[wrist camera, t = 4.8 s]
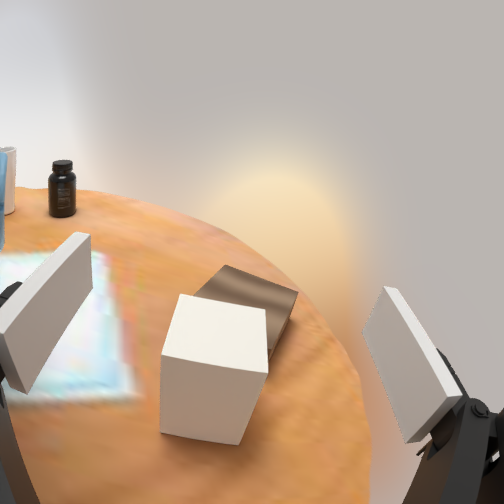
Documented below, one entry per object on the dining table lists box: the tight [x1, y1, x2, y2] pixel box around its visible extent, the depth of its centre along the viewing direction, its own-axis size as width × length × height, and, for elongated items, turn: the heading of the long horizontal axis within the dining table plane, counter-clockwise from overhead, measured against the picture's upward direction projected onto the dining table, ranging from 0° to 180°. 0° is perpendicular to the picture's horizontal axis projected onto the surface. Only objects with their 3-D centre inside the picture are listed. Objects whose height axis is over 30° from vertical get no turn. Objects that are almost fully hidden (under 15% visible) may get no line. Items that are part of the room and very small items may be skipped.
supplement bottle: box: [48, 160, 76, 217], centre depth 61 cm, size 7×7×12 cm
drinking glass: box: [0, 147, 16, 215], centre depth 55 cm, size 7×7×15 cm
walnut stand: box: [193, 265, 298, 362], centre depth 44 cm, size 14×12×5 cm
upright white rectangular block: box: [160, 294, 268, 445], centre depth 28 cm, size 8×8×12 cm
